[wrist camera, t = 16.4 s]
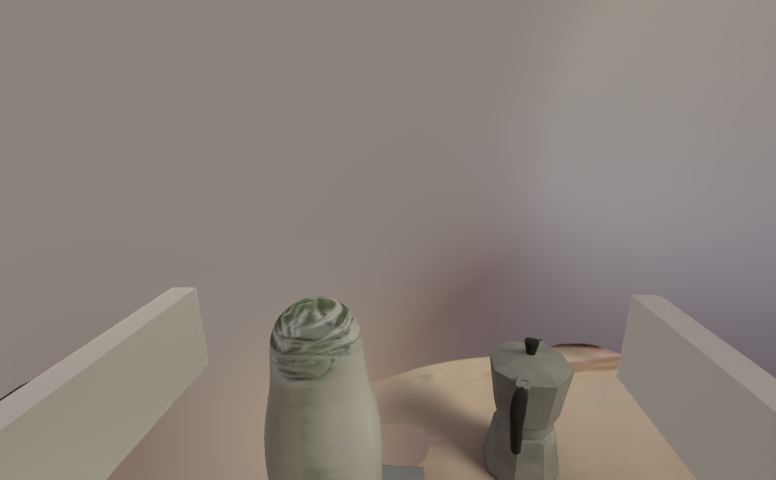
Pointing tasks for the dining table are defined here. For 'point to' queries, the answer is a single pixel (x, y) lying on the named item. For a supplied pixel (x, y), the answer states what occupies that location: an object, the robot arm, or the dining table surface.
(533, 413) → the coffeepot
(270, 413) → the grey green rounded cylinder
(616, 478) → the dining table surface
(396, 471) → the mat
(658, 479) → the dining table surface
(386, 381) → the dining table surface
